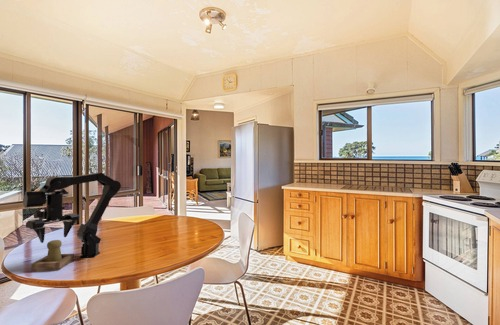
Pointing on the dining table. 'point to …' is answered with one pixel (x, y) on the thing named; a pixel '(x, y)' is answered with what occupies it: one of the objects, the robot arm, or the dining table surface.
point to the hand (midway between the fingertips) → (54, 239)
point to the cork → (54, 251)
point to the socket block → (52, 263)
